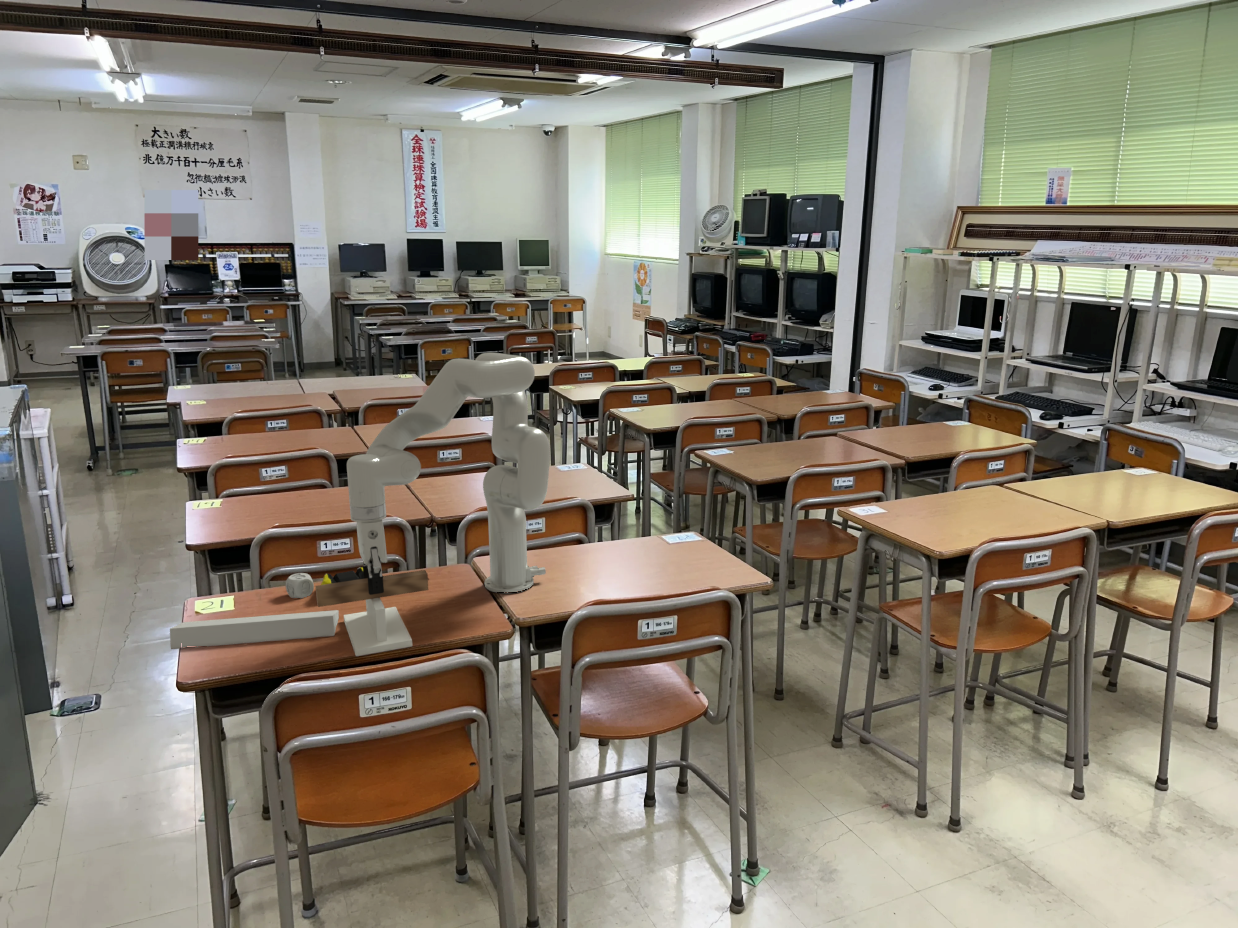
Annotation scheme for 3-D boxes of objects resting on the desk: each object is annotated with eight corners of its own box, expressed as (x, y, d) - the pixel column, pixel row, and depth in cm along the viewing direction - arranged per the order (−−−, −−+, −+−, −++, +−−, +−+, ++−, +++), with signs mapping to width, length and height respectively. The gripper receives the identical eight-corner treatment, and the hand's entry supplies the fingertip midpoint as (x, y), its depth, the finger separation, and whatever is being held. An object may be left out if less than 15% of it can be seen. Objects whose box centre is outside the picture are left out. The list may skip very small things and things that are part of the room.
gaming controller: (384, 591, 224) (373, 579, 233) (383, 570, 223) (371, 559, 231) (324, 603, 217) (314, 590, 225) (322, 582, 215) (312, 570, 224)
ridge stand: (396, 612, 211) (393, 577, 209) (412, 646, 193) (410, 607, 191) (344, 620, 206) (341, 584, 204) (355, 656, 188) (352, 617, 186)
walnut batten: (426, 586, 203) (425, 569, 202) (428, 589, 201) (427, 573, 200) (316, 602, 194) (315, 585, 193) (318, 607, 192) (316, 589, 191)
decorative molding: (184, 643, 201) (170, 650, 192) (183, 622, 202) (169, 628, 192) (339, 630, 208) (334, 637, 198) (338, 609, 208) (333, 615, 198)
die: (304, 589, 225) (302, 571, 224) (314, 594, 222) (313, 576, 221) (286, 595, 222) (284, 576, 220) (296, 600, 218) (294, 581, 217)
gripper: (392, 519, 186) (397, 598, 191) (379, 499, 202) (384, 572, 206) (356, 524, 184) (362, 604, 188) (345, 502, 199) (351, 577, 203)
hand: (373, 587), depth 197 cm, fingers open, 6 cm apart
